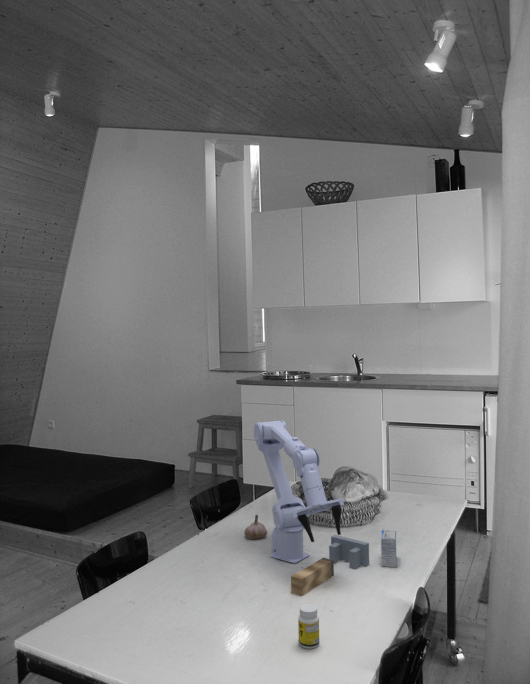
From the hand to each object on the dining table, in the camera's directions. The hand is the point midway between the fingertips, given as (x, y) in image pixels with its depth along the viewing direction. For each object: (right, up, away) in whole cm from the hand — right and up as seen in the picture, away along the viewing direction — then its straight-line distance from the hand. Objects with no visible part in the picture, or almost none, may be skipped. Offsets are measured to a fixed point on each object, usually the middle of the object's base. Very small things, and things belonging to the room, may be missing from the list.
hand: (326, 538), depth 173 cm
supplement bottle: (-7, -15, -31) cm, 35 cm away
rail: (-3, -13, +1) cm, 14 cm away
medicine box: (+20, -12, +15) cm, 28 cm away
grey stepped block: (+8, -12, +16) cm, 22 cm away
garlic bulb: (-20, -12, +38) cm, 45 cm away
